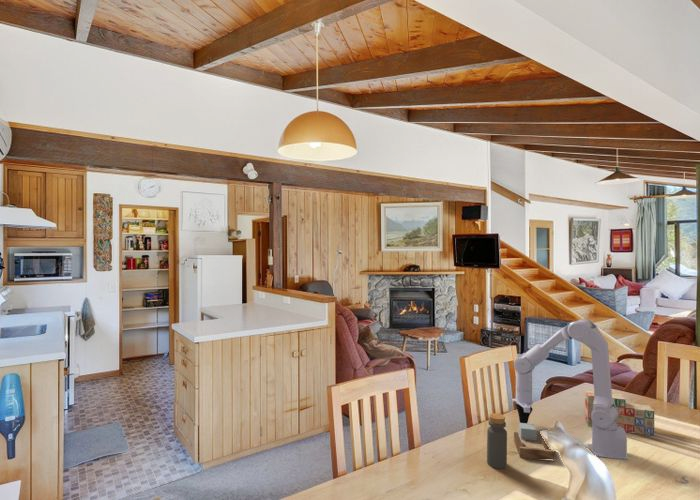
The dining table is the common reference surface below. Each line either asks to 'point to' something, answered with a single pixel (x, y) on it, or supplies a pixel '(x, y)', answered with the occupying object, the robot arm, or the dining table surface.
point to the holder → (533, 450)
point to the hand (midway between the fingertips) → (523, 424)
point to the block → (527, 431)
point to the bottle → (497, 441)
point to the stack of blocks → (626, 414)
